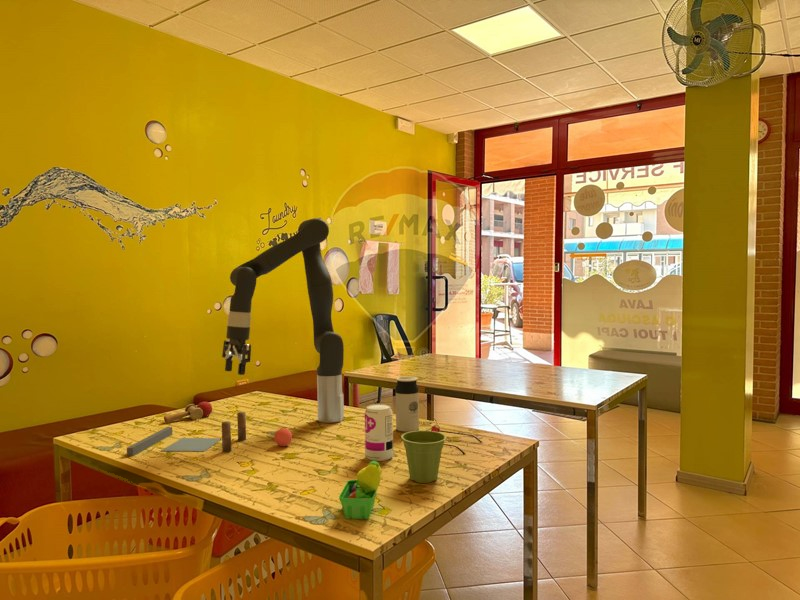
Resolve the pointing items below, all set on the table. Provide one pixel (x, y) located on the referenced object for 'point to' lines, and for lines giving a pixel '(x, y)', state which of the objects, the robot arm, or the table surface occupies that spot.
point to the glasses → (450, 432)
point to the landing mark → (192, 444)
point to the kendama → (191, 412)
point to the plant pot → (423, 454)
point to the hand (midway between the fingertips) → (234, 372)
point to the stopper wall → (149, 441)
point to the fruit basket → (361, 492)
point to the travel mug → (407, 404)
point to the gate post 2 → (241, 426)
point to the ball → (283, 437)
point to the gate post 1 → (226, 437)
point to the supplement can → (378, 432)
